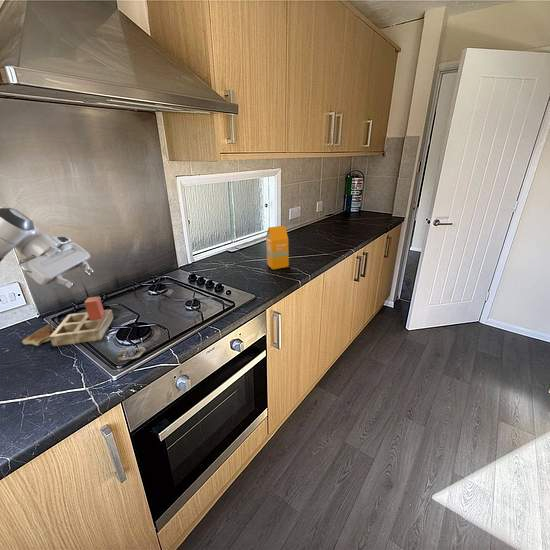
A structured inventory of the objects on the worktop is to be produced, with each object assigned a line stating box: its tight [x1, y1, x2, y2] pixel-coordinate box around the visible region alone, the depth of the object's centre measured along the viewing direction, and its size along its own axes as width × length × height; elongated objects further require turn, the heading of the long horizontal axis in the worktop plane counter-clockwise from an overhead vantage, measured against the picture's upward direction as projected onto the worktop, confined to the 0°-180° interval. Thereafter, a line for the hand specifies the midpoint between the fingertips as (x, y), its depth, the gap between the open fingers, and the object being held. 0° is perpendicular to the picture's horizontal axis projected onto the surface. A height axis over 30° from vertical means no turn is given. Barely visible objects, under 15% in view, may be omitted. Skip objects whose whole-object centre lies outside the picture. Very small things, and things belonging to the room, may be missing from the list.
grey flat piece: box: [115, 346, 147, 362], centre depth 85 cm, size 7×8×2 cm
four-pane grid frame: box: [49, 308, 114, 347], centre depth 97 cm, size 14×14×4 cm
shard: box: [21, 321, 54, 347], centre depth 95 cm, size 11×8×2 cm
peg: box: [83, 296, 105, 320], centre depth 99 cm, size 4×4×10 cm
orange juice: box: [265, 225, 290, 270], centre depth 144 cm, size 8×9×20 cm
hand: (82, 279), depth 95 cm, fingers open, 8 cm apart
